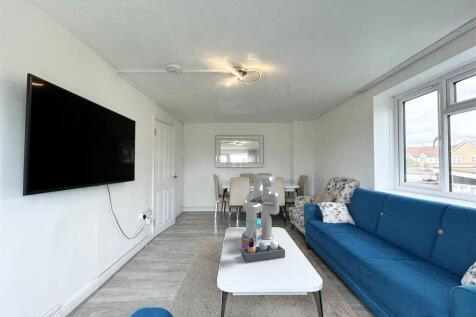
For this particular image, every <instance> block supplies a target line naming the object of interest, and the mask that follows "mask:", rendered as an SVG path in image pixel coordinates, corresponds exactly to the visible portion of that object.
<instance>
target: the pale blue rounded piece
mask: <svg viewBox="0 0 476 317" xmlns="http://www.w3.org/2000/svg"><path fill="white" fill-rule="evenodd" d="M267 245H268V244H267V243H266V242H265V241H263V242H262V241H261V243H259V245H258V246H259V251H260V252H267Z"/></svg>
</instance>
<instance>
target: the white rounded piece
mask: <svg viewBox="0 0 476 317" xmlns="http://www.w3.org/2000/svg"><path fill="white" fill-rule="evenodd" d="M269 245H270V250H271V251H275V250H278V245H279V244H278V241H276V240H272V241H270V242H269Z"/></svg>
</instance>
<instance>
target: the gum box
mask: <svg viewBox="0 0 476 317" xmlns="http://www.w3.org/2000/svg"><path fill="white" fill-rule="evenodd" d="M258 227H259V228H258ZM261 242H262V239H261V227H260V226H256V238H255V241H254V246H255V247H258V246H259V243H261ZM248 246H249V238H248V237H247V236H246V230H245V231H244V232H243V233H241V248H248Z"/></svg>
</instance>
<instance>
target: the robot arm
mask: <svg viewBox="0 0 476 317" xmlns="http://www.w3.org/2000/svg"><path fill="white" fill-rule="evenodd" d="M276 182H277V180H276V176H275V175H264V174H263V175H262V174H261V175H257V176H256V177H255V181H254V184H253V187H252V189H253V190H252V191H250V192H249V193H248V194H247V195H246V197H245V198H244V201H243V206H242V208H243V211H244V212H245V214H246V215H245V219H246V220H245V221H246V226H245V227H246V228H245V231H246V236H247V237H248V238H249V247H254V241H255V238H256V227H257V224H258V215H257V214H259V213H260V226H261V227H260V228H261V240H272V239H274V235H272V233H273V232H272V225H273V224H272V216H271V215H278V214H280V196H279V194H278V192H275V191H271V187H274V186H275V184H276ZM257 197H258V198H259V197H260V199H261V201H263V202H264V203H263V204H262V203H261V204H260V202H259V203H256V202H255V201H254V202H252V201H251V200H252V199H254V198H257ZM250 201H251V202H250Z"/></svg>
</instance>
